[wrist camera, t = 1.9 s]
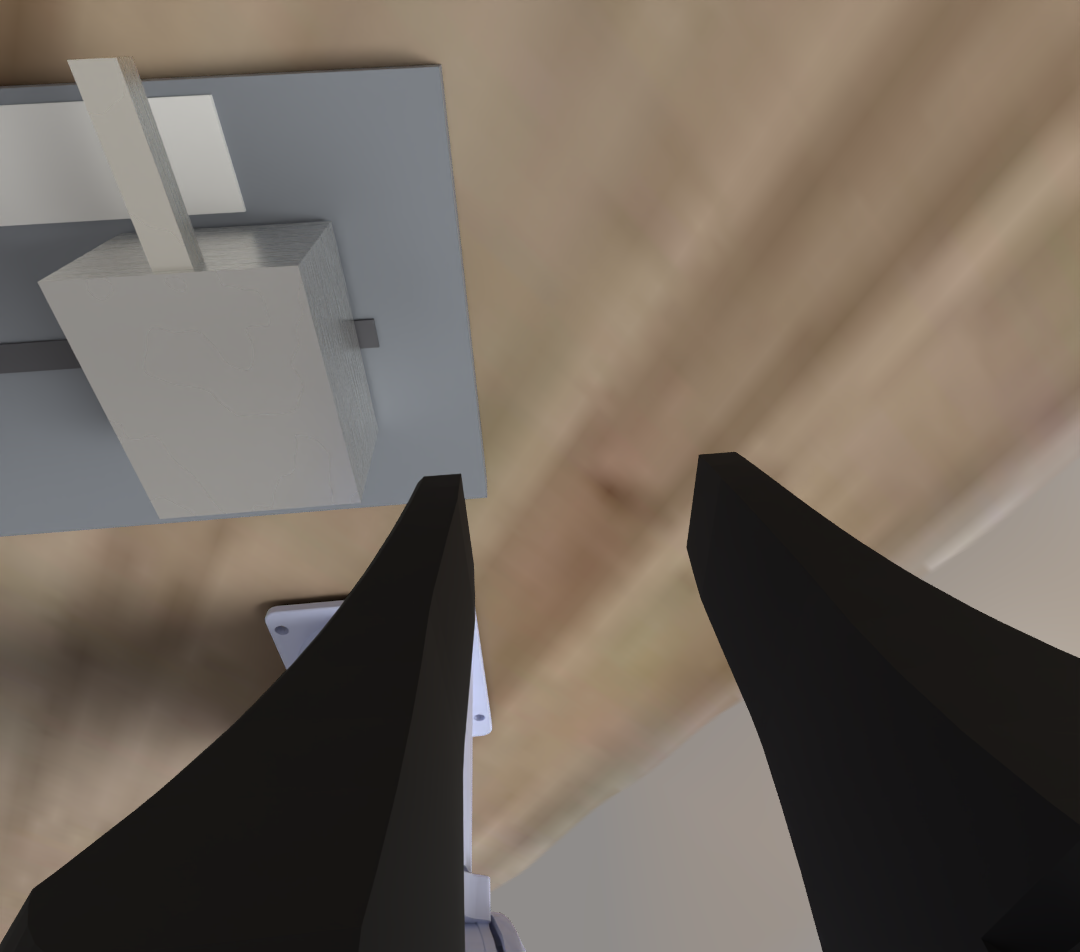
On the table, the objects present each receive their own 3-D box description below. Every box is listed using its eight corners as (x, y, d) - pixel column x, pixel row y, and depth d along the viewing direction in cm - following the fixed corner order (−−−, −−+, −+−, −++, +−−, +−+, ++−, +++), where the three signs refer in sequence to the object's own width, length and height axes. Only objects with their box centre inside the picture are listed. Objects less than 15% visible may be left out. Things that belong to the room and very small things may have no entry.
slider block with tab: (378, 430, 19) (360, 502, 16) (208, 443, 18) (160, 519, 16) (292, 46, 13) (241, 51, 10) (47, 57, 13) (-74, 67, 10)
